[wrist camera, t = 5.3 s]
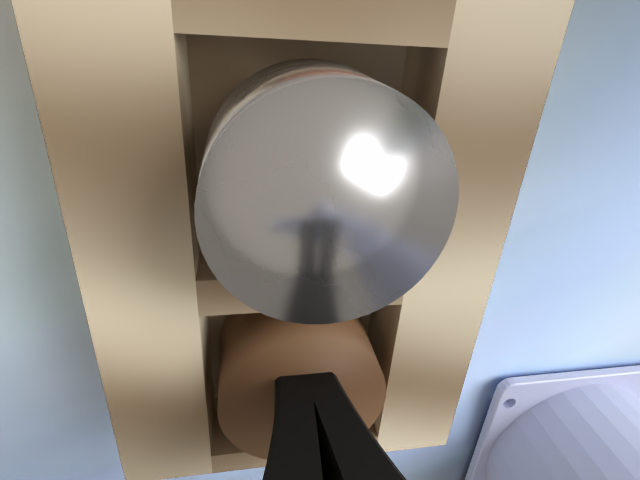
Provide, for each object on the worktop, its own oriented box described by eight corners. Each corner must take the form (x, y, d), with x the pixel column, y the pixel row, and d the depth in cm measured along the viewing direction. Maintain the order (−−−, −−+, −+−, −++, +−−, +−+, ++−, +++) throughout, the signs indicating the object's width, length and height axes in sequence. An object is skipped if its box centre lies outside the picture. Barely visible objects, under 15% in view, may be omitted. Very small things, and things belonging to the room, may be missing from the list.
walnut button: (353, 383, 14) (375, 451, 12) (223, 395, 13) (221, 470, 11) (367, 275, 12) (397, 333, 10) (216, 282, 11) (212, 347, 9)
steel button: (391, 251, 10) (433, 317, 8) (210, 257, 9) (203, 332, 7) (420, 62, 8) (485, 82, 6) (197, 52, 7) (181, 71, 5)
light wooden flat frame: (410, 371, 16) (445, 444, 13) (146, 394, 14) (126, 483, 11) (558, -339, 8) (724, -515, 5) (-8, -476, 6) (-187, -833, 3)
